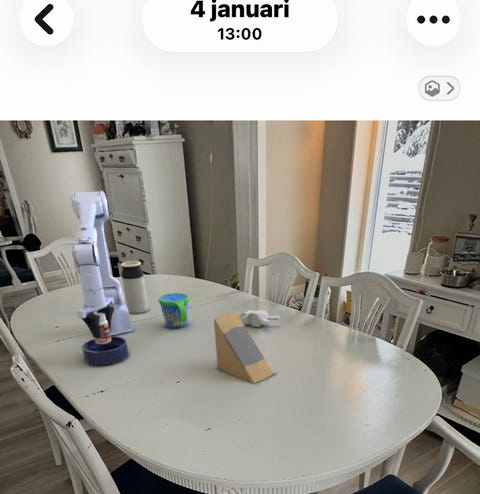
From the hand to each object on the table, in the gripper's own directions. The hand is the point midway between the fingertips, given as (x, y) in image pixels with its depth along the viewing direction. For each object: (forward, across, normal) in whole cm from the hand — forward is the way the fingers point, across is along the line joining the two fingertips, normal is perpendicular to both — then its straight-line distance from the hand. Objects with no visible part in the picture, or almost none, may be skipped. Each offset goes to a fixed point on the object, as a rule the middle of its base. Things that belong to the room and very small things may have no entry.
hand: (102, 334), depth 142 cm
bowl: (+8, 0, 0) cm, 8 cm away
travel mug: (+8, -44, -17) cm, 47 cm away
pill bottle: (+3, 0, 0) cm, 3 cm away
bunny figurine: (+8, -42, +35) cm, 55 cm away
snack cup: (+8, -33, +6) cm, 34 cm away
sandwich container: (+8, -4, +45) cm, 46 cm away
